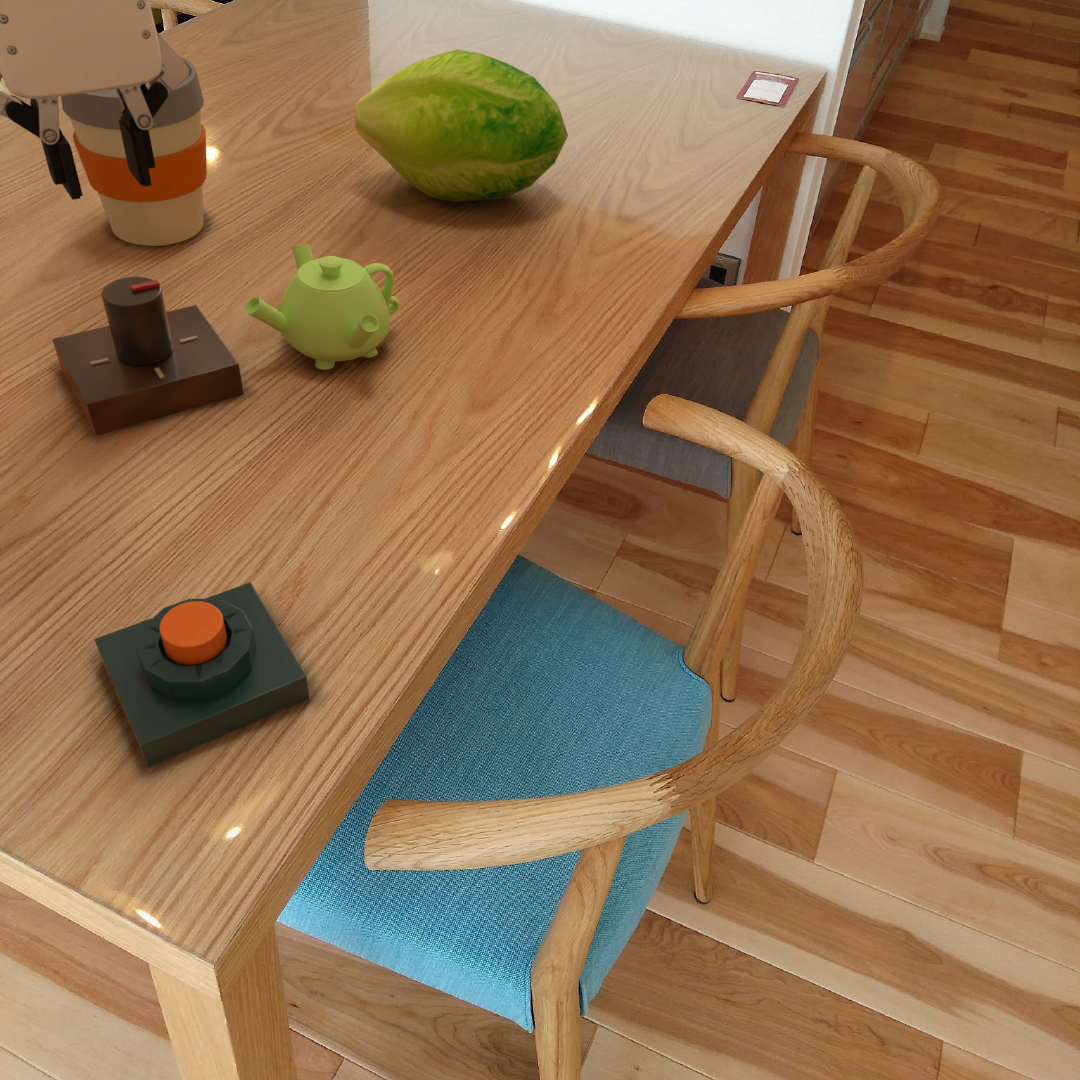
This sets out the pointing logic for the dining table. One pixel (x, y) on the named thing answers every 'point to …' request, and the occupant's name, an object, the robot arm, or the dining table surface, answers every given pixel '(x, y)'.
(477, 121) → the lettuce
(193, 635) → the orange push button
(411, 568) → the dining table surface
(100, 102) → the reusable coffee cup
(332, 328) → the teapot
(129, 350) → the dial
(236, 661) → the button housing
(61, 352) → the dial panel
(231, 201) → the dining table surface
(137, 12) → the robot arm
